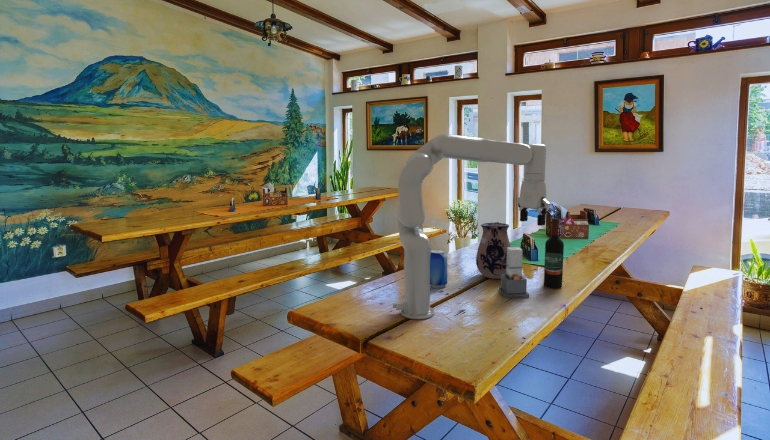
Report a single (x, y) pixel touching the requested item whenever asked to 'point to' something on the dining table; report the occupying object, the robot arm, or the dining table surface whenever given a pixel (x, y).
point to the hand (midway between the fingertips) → (532, 223)
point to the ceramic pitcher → (493, 250)
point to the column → (514, 262)
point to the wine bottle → (554, 258)
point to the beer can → (438, 268)
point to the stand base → (513, 287)
